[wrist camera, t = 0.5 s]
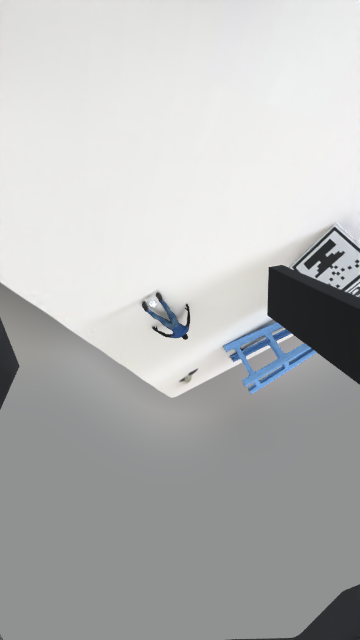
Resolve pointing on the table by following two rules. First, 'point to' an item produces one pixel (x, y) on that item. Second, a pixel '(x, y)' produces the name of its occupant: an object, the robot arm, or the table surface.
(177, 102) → the table surface
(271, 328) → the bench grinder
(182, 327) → the person figurine
